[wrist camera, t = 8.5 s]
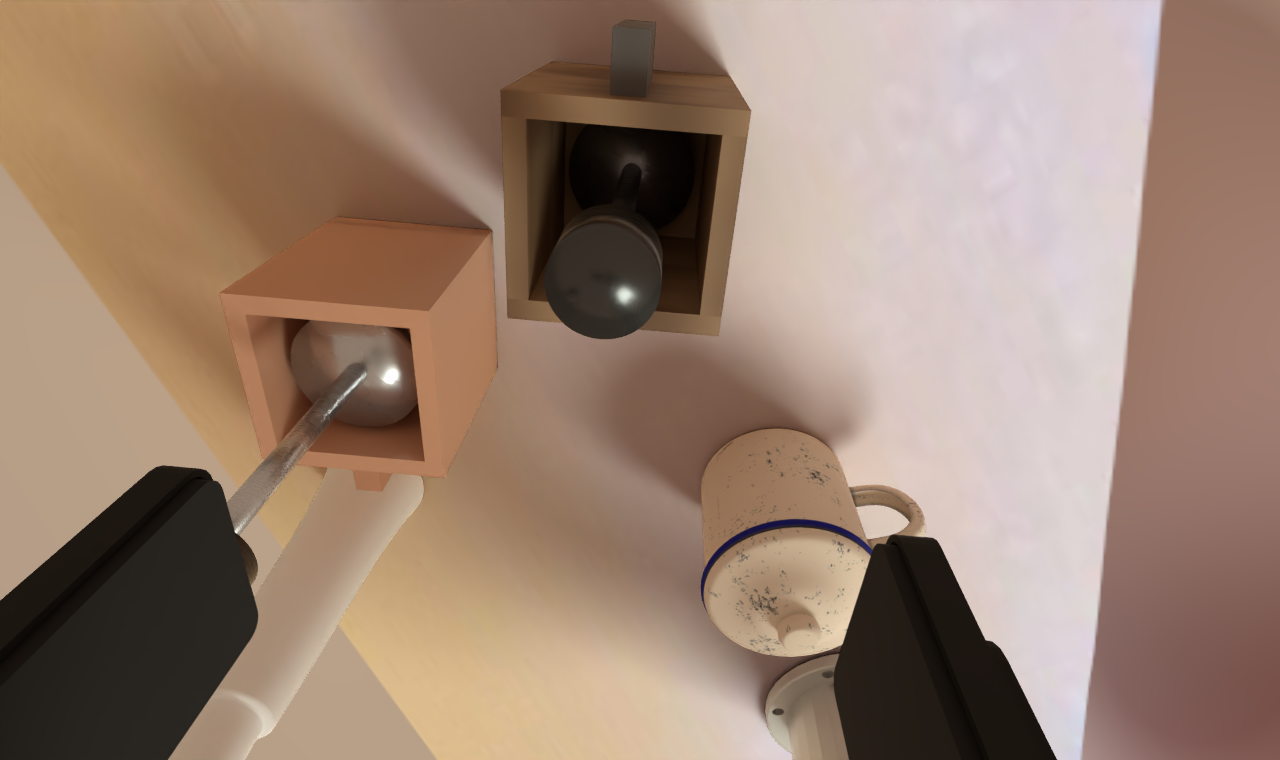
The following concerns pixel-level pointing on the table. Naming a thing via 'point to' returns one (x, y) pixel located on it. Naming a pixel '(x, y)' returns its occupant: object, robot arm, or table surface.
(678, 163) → the dark metallic plunger
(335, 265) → the square planter pot
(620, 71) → the wooden handled box
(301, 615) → the cosmetic bottle
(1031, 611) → the table surface
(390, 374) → the black knobbed plunger
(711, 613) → the teacup with lid
